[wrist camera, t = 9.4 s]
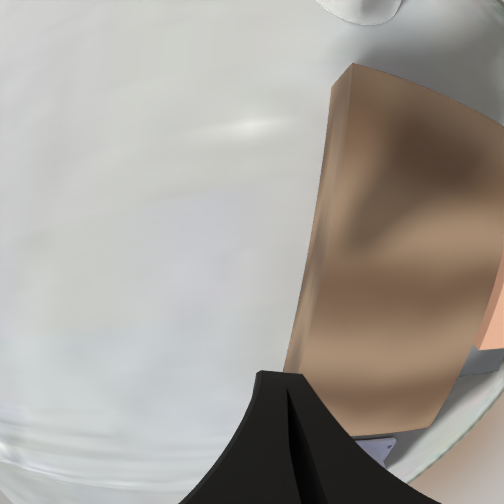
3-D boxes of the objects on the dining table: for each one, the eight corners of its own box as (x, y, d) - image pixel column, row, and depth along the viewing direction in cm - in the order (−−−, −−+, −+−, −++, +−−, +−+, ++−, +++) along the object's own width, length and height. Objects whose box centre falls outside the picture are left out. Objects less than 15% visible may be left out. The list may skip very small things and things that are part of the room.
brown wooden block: (409, 395, 19) (429, 427, 16) (277, 395, 19) (280, 435, 15) (478, 137, 15) (516, 134, 11) (331, 86, 14) (352, 62, 11)
